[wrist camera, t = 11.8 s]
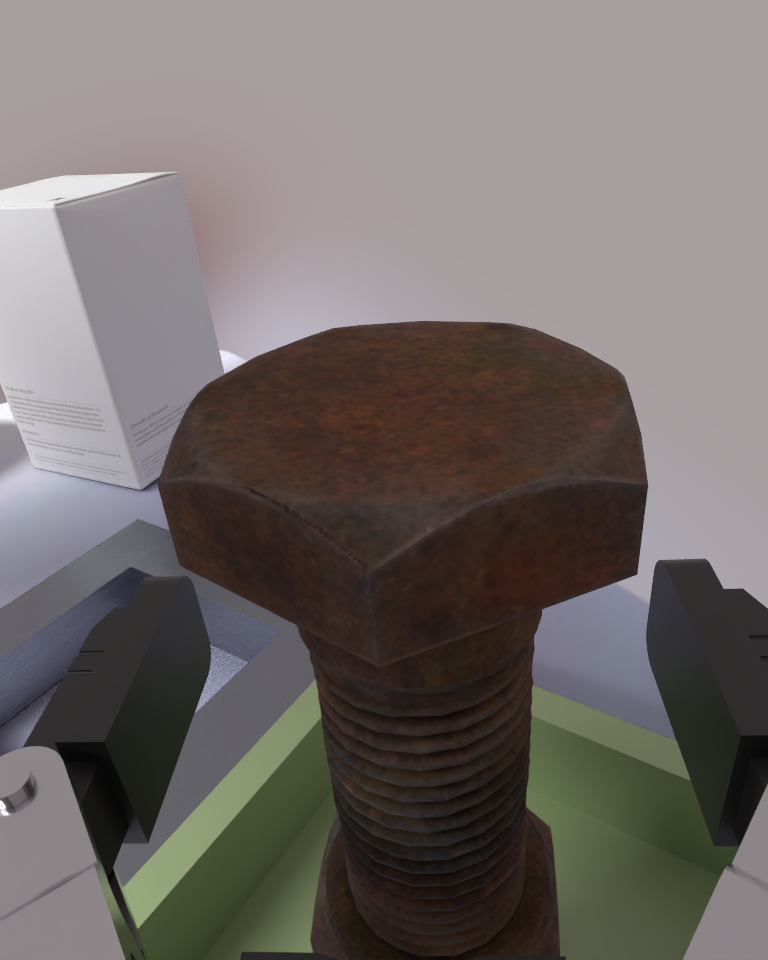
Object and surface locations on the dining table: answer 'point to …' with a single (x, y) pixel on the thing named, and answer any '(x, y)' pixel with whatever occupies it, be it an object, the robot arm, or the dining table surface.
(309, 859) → the tray
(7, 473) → the dining table surface
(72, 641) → the square frame
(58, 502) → the dining table surface
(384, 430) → the bolt
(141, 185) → the supplement box
